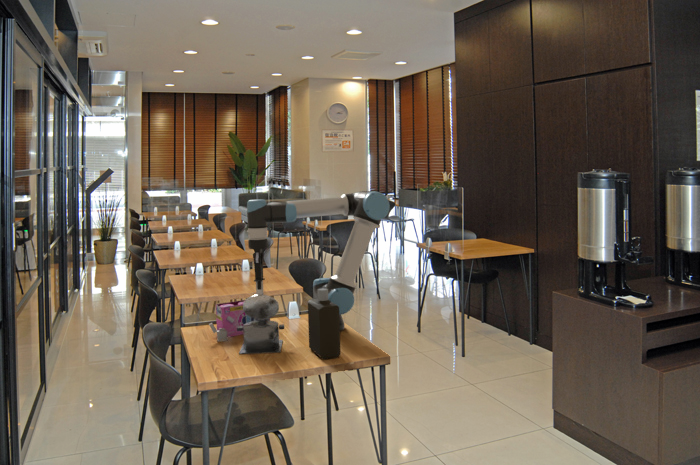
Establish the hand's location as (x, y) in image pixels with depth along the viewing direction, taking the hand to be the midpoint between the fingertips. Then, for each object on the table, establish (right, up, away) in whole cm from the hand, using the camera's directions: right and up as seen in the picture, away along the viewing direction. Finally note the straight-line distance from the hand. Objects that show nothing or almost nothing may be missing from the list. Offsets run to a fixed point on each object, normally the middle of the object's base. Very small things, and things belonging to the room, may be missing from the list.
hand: (260, 296), depth 222 cm
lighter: (-19, -20, +11) cm, 30 cm away
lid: (0, -5, +2) cm, 5 cm away
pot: (0, -20, +1) cm, 20 cm away
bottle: (+26, -21, -8) cm, 35 cm away
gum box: (-11, -19, +24) cm, 32 cm away
